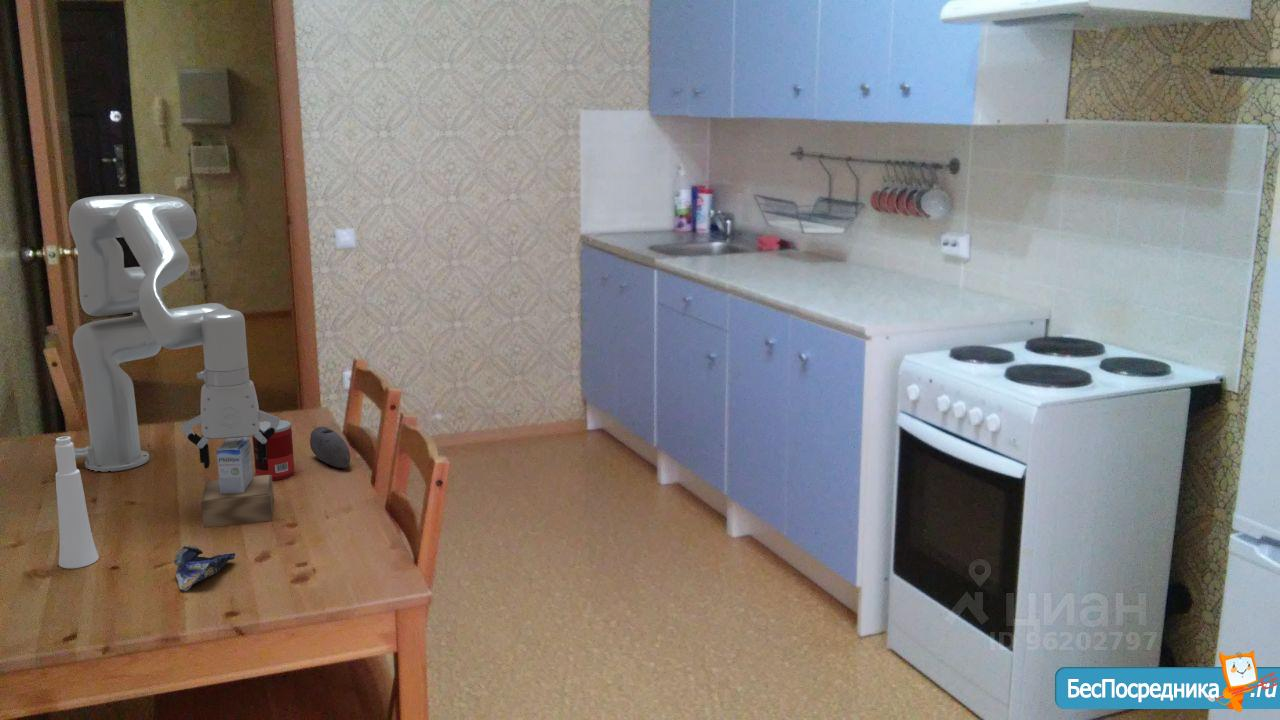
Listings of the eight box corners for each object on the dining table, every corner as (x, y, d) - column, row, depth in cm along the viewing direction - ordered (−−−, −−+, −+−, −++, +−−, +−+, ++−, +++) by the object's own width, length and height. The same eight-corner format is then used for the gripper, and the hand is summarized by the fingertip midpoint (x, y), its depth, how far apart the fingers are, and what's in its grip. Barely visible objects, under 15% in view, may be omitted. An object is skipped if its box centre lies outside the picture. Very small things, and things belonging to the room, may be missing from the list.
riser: (203, 527, 195) (201, 501, 194) (208, 505, 207) (206, 479, 205) (272, 520, 199) (270, 494, 198) (273, 498, 210) (271, 473, 209)
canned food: (300, 469, 227) (296, 420, 225) (284, 481, 220) (280, 431, 217) (266, 468, 228) (262, 419, 226) (249, 480, 220) (245, 430, 218)
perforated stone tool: (358, 470, 227) (357, 439, 225) (335, 475, 224) (333, 444, 222) (331, 453, 239) (329, 423, 237) (309, 457, 235) (306, 427, 234)
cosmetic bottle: (71, 571, 177) (55, 445, 172) (51, 563, 180) (34, 439, 175) (106, 559, 182) (91, 436, 177) (85, 551, 185) (70, 430, 180)
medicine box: (230, 480, 205) (226, 437, 203) (253, 479, 206) (250, 436, 204) (219, 494, 197) (215, 450, 196) (244, 493, 198) (240, 449, 196)
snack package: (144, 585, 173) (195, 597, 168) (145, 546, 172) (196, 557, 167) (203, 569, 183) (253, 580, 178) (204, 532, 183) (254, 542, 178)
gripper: (174, 384, 191) (183, 474, 195) (276, 378, 196) (282, 466, 200) (179, 374, 198) (187, 461, 202) (276, 369, 203) (282, 454, 207)
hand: (234, 463), depth 201 cm, fingers open, 9 cm apart
